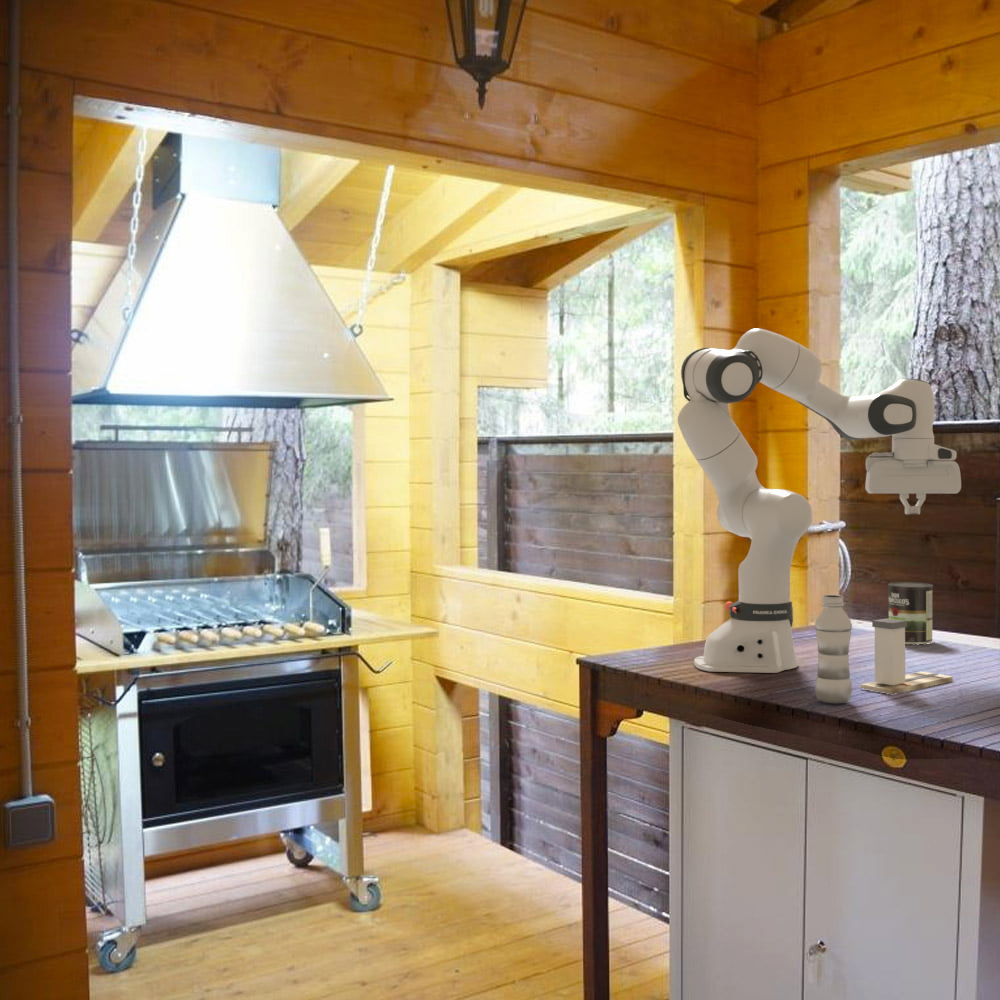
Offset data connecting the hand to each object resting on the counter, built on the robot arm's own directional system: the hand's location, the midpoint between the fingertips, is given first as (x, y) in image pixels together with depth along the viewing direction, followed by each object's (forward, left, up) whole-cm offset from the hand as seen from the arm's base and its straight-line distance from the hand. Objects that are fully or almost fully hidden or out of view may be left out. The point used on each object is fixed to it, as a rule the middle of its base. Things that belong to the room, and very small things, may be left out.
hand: (912, 514), depth 249 cm
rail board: (-11, -29, -32) cm, 45 cm away
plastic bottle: (-29, -43, -33) cm, 62 cm away
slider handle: (-15, -32, -31) cm, 47 cm away
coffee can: (+7, +23, -33) cm, 40 cm away
